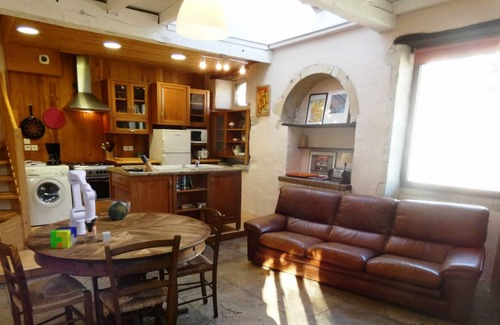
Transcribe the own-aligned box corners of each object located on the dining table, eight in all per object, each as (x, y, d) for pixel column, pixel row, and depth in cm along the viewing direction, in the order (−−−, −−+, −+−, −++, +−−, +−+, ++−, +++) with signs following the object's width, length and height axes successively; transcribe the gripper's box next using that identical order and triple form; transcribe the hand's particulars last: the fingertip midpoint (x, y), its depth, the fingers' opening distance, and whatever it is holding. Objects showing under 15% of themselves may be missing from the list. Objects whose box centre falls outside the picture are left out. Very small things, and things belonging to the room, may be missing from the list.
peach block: (87, 236, 187) (86, 228, 187) (88, 234, 191) (88, 226, 191) (95, 235, 189) (94, 228, 188) (96, 233, 193) (96, 226, 192)
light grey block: (103, 242, 189) (103, 234, 189) (102, 240, 193) (101, 232, 192) (110, 240, 192) (110, 233, 191) (109, 238, 195) (109, 231, 195)
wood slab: (83, 244, 186) (83, 239, 186) (86, 240, 193) (86, 235, 192) (96, 243, 188) (96, 238, 188) (98, 239, 195) (98, 234, 194)
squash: (108, 216, 229) (121, 199, 236) (101, 213, 240) (113, 197, 246) (123, 225, 238) (134, 209, 244) (115, 222, 248) (126, 207, 254)
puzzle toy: (77, 242, 189) (76, 226, 188) (68, 247, 179) (67, 231, 178) (61, 242, 189) (60, 226, 188) (51, 247, 179) (50, 231, 178)
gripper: (95, 212, 183) (96, 233, 184) (98, 207, 197) (99, 227, 198) (82, 213, 181) (83, 234, 182) (86, 207, 194) (87, 228, 195)
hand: (90, 230), depth 190 cm, fingers closed on peach block, 4 cm apart
